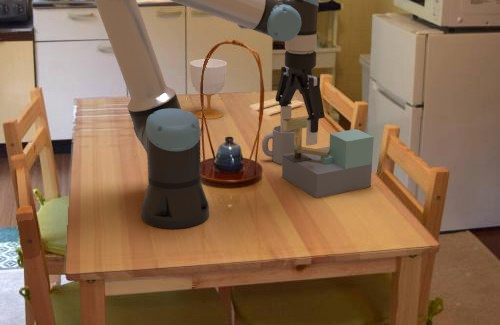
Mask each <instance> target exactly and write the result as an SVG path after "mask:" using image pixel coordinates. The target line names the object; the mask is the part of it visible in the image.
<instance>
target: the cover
mask: <svg viewBox="0 0 500 325" xmlns="http://www.w3.org/2000/svg"><path fill="white" fill-rule="evenodd" d="M374 139H375V137H374V136H373V135H370V134H368V133H366V132H364V131H362V130H359V129H357V128H355V129H348V130H343V131H339V132H332V133H329V146H328V147H329V151H330V155H329V156H328V157H325V156H321V161H320V162H321V163H323V164H330V163H335V164H337V165H338V166H340V167H342V168H344V169H348V168H353V167H359V166H364V165H369V164H372V165H373V158H374V157H373V152H374Z"/></svg>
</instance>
